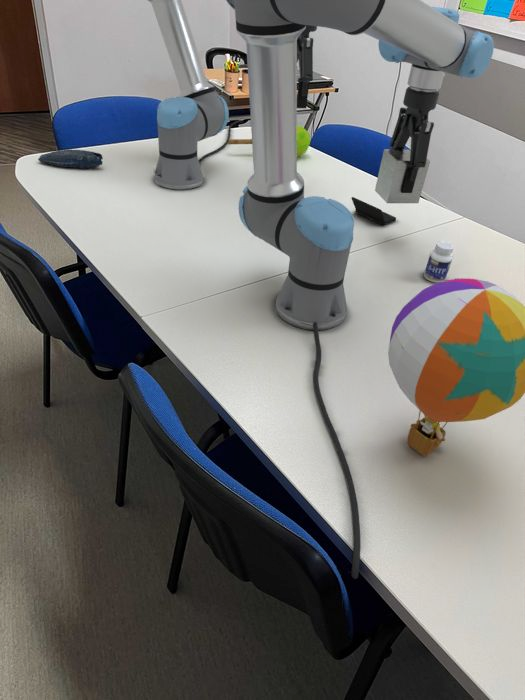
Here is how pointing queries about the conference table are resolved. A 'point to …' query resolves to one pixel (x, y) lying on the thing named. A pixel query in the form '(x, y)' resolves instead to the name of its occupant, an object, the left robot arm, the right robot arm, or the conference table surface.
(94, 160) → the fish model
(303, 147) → the decorative tree
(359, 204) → the handheld gaming console
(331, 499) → the conference table surface
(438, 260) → the pill bottle
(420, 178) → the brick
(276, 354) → the conference table surface
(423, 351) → the toy
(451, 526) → the conference table surface
